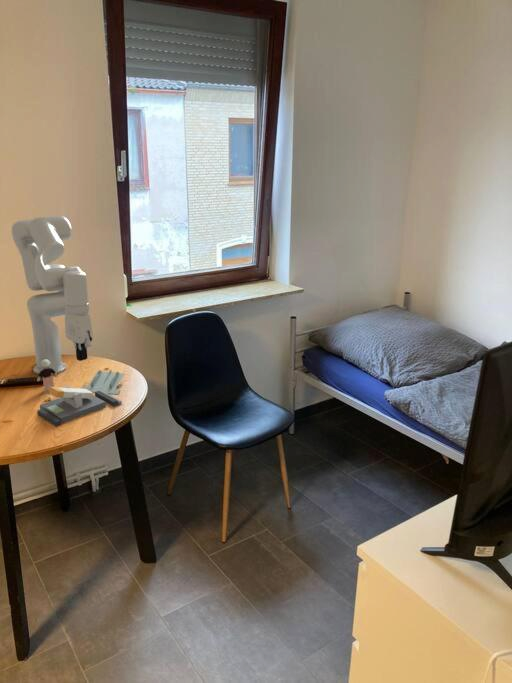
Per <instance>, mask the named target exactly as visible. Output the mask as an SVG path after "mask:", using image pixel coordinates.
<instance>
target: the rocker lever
mask: <svg viewBox="0 0 512 683" xmlns="http://www.w3.org/2000/svg"><path fill="white" fill-rule="evenodd" d="M79 392H81V394H82V398H93V395H95V393H93V392H91V391H89V390H87V389H81V388H78V387H77V388H76V387H69V388H62V387H57V386H54V387H50V389H49V393H48V394H50V395H51V396H53V397H55V398H56V399H58V398H63V397H65V398H74V394H76V393H79Z"/></svg>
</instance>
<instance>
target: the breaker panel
mask: <svg viewBox="0 0 512 683" xmlns="http://www.w3.org/2000/svg"><path fill="white" fill-rule="evenodd" d="M61 388H70V385H66V386H63V387H61ZM106 404H107V403H106V402H105V401H103V400H101V399H99V398H97V397H96V396H95V394H93V398H82V394H81V392H79V393H76V394H74V398H65V397H63V398H56V399H53V400H50V401H47V402H44V403H41V404H39V410H40V409H44V410H45V411H47V412H49V413H50V414H52V415H53V416H55V417H56V418H58V419H60V420H61V425H62V424H64V423H66V422H67V423H68V422H70V421H72V420H74V419H75V420H76V419H78V418H80V417H82V416H85V415H87V414H88V415H89V414H91V413H93V412H94V413H95V412H97V411H99V410H102V409H104V408H107V405H106Z"/></svg>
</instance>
